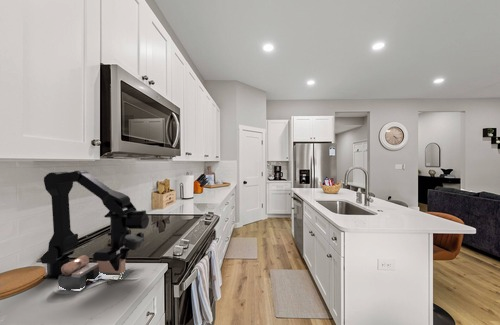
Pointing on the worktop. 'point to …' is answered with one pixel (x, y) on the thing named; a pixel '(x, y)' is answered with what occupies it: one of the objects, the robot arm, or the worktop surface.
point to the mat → (119, 274)
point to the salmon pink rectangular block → (107, 267)
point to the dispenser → (77, 273)
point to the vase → (107, 244)
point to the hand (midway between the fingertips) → (119, 268)
